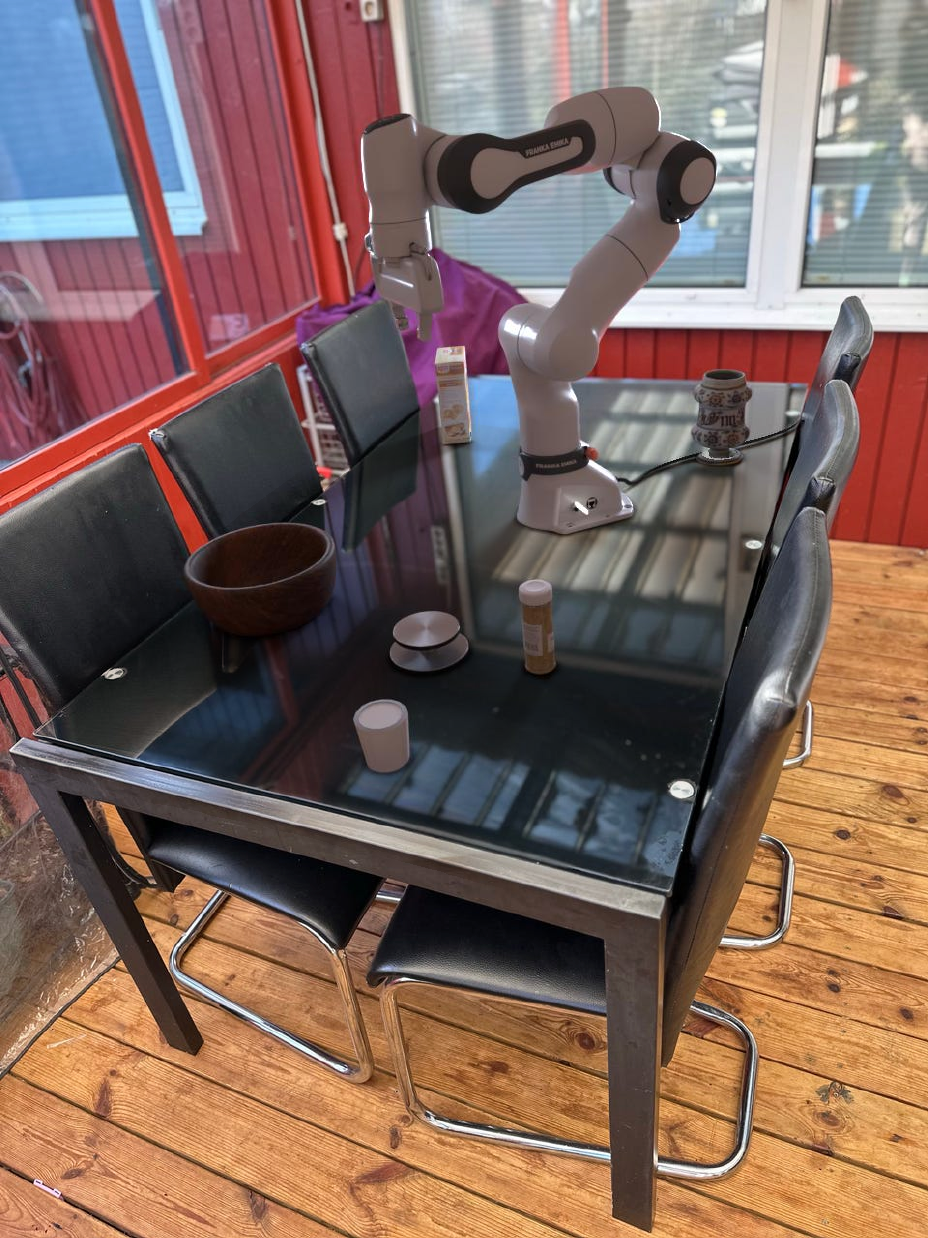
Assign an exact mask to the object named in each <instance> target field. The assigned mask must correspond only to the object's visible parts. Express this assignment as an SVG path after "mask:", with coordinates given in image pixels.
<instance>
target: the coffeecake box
mask: <svg viewBox="0 0 928 1238" xmlns="http://www.w3.org/2000/svg"><path fill="white" fill-rule="evenodd" d="M435 353H436V354H435V358H434V369H435V379H436V390H437V398H438V408H439V418H440V426H441V427H440V429H441V436H442V445H448V444H462V443H463V444H464V443H472V442H471V441H472V436H471V437H470V432H471V433H472V419H471V405H470V395H469V384H468V372H467V371H468V370H467V360H466V347H465V345H457V346H447V347H437V349H436V352H435ZM468 437H470V439H463V438H468ZM458 439H460V440H458Z"/></svg>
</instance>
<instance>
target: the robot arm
mask: <svg viewBox="0 0 928 1238" xmlns="http://www.w3.org/2000/svg"><path fill="white" fill-rule="evenodd" d="M661 119H662V118H661V110H660V106H659V103H658V101H657V99H656V97H655V96H654V94H653V93H651V92H650V91H649V90H648V89H646V88H645V87H641V86H615V87H614V86H613V87H606V88H600V89H596V90H595V89H594V90H591V91H587V92H583V93H580V94H578V95H574V96H572V97H569V98H567V99H565V100H563V101H561V102H559V103H558V104H555V105H554V106H552V107H551V109H550V110H549V111H548V113H547V115H546V118H545V119H544V124H543V128H542V129H538V130H536V131H532V132H528V133H525V134H522V135H518V136H515V137H512V138H504V137H500V136H497V135H494V134H491V133H485V132H476V133H470V134H448V133H446V132H443V131H439V130H437V129H435V128H432V127H430V126H428V125H426V124H424V123H422V122H421V121H419V120H417V119H416V118H415V117H414V116H413V115H412V114H410V113H407V112H405V113H404V112H403V113H396V114H393V115H388V116H384V117H381V118H379V119H376V120H375V121H372V122H371V123H369V124H368V125H367V126H366V127H365V129H363V132H362V134H361V141H360V157H361V158H360V159H361V171H362V178H363V185H364V186H363V187H364V192H365V194H366V197H367V199H368V203H369V216H368V221H369V222H368V223H369V232H368V233H367V234H366V235H365V236H364V246H365V250H366V251H367V252H369V259H370V266H371V271H372V276H373V282H374V286H375V289H376V291H377V294H378V296H379V297H380V298H382V299H384V300H387V301H388V302H389V308H390V310H391V313H392V316H393V318H394V323H395V325H394V326H395V328H396V329H397V331H402V332H403V331H407V330H409V328H410V324H409V317H407V314H406V313H407V312H406V309H407V310H409V311H412V312H415V315H416V319H417V328H416V335H417V336H416V338H417V339H418V340H419V341H421V342H428V341H429V342H430V341H431V340H432V338H433V337H432V329H431V328H432V324H433V318H434V314H438V313H441V312H443V310H444V305H445V301H444V293H443V285H442V280H441V274H440V270H439V266H438V263H437V261H436V260H435V258H434V257H432V256H431V255H430V254H429V252H431V251H432V250H433V242H432V232H431V224H430V223H431V222H430V215H429V211H430V208H431V207H433V206H435V207H439V208H446V209H452V210H459V211H462V212H466V213H468V214H472V215H484V214H487V213H490V212H492V211H494V210H496V209H497V208H498V207H500V206H501V205H502V204H504V202H506V201H507V199H508V198H510V197H511V196H512V195H513V194H514V193H516V192H517V191H518V190H520V189H522V188H524V187H526V186H528V185H531V184H533V183H534V184H535V183H537V182H540V181H543V180H545V179H549V178H552V177H554V176H557V175H561V176H580V175H586V174H590V173H591V174H592V173H595V172H599V171H602V174H603V177H604V179H605V181H606V183H607V184H608V185H609V186H610V188H612V189H613V190H614V191H615V192H616V193H619V194H620V195H623V196H627V197H628V198H630V201H629V204H628V206H627V208H626V211H625V212H624V214H623V216H622V217H621V219H619V220H618V221H617V222H616V223H615V224H614V225H613V226H611V228H609V230H608V231H606V233H605V234H604V235H602V237H601V238H599V240H598V241H597V242H595V244H594V245H593V246H592V247H591V248H589V250H588V251H587V252H586V253H585V254H584V255H583V256H582V257H581V259H580V260H579V261H578V262H576V264H575V265H573V267H572V268H571V271H570V273H569V281H568V283H567V285H566V287H565V289H564V291H563V293H562V294H561V295H560V297H559V298H558V300H557V301H556V303H555V304H553V305H552V306H551V307H549V306H546V305H544V304H541V303H537V302H527V303H521V304H516V305H514V306H512V307H510V308H509V309H508V310H507V311H506V312H505V313H504V314H503V316H502V317H501V319H500V321H499V324H498V328H497V338H498V340H499V344H500V346H501V348H502V350H503V353H504V355H505V358H506V362H507V367H508V372H509V375H510V379H511V383H512V388H513V391H514V395H515V399H516V404H517V410H518V424H519V438H520V446H519V447H518V468H519V474H520V475H519V476H520V477H521V487H520V488H521V489H520V497H519V498H520V499H519V506H518V509H517V513H516V518H517V520H518V522H519V523H521V524H522V525H524V526H526V527H528V528H532V529H535V530H541V531H542V530H543V531H551V532H555V533H557V534H561V535H568V534H572V533H573V534H574V533H576V532H581V531H584V530H587V529H591V528H595V527H599V526H603V525H606V524H611V523H614V522H619V521H621V520H625V519H629V518H631V517H633V515H634V512H635V510H634V504H633V502H632V500H631V499H630V498H629V497H628V496H627V495H626V494H625V493H623V492H622V491H621V488H620V484H619V483H624V484H626V485H628V486H634V485H637V484H638V483H640V482H641V481H642V480H644V478H645V477H647V476H648V475H649V474H651V473H653V472H655V471H657V470H659V469H662V468H665V467H666V466H670V465H673V464H676V463H679V462H683V461H685V460H689V459H692V458H695V457H696V456H697V455H698V454H700V453H702V452H700V453H696V454H692V455H689V456H685V457H682V458H679V459H676V460H673V461H670V462H667V463H664V464H662V465H659V466H657V467H655V468H653V469H650V470H648V469H647V470H648V471H646V470H645V471H643V472H642V473H641V474H640V475H639V476H638V477H637V478H634V479H633V480H630V479H628V478H627V477H622V476H619V477H618V476H617V475H614V474H613V473H612V472H611V471H610V470H609V469H606V468H605V467H603V466H602V465H600V464H598V463H596V462H595V461H596V460H597V459H598V458H599V456H600V455H599V451H598V450H596V449H595V447H592V446H590V445H589V443H587V442H585V441H583V440H582V439H581V433H580V431H581V430H580V404H579V400H578V397H577V396H576V394H575V391H574V389H573V386H572V384H571V383H574V382H577V381H580V380H583V379H584V378H586V377H587V376H588V375H589V374H590V373H591V372H592V371H593V369H594V368H595V366H596V364H597V361H598V358H599V353H600V343H601V341H602V339H603V337H604V335H605V334H606V332H607V330H608V328H609V326H610V325H611V324H612V322H613V321H614V319H615V317H616V316H617V315H618V314H619V313H620V312H621V311H622V309H624V308H625V306H626V305H627V304H628V303H629V302H630V301H631V300H632V299H633V298H634V297H635V296H636V295H637V294H638V292H640V290H641V289H642V288H643V287H644V286H645V285H646V284H647V283H648V282H649V281H651V279H652V278H653V277H654V276H655V274H656V273H657V272H659V270H660V268H661V267H662V266H663V264H664V263H665V262H666V261H667V259H668V258H669V257H670V255H671V254H672V253H673V251H674V249H675V248H676V246H677V245H678V243H679V241H680V238H681V233H682V232H681V231H682V229H681V228H682V227H681V224H683V223H685V222H687V221H689V220H690V219H691V218H692V217H694V215H695V214H696V212H697V211H698V210H700V208H702V207H703V205H704V204H705V202H706V201H707V200H708V198H709V196H710V195H711V193H712V192H713V190H714V187H715V184H716V180H717V176H718V162H717V158H716V156H715V155H714V153H713V152H712V151H711V150H710V149H709V148H708V146H706V145H705V144H703V143H702V142H700V141H698V140H695V139H689V138H687V137H685V136H683V135H680V134H678V133H675V132H672V131H667V130H660V129H661V124H662V123H661V122H662V120H661ZM799 421H801V419H800V420H799ZM799 421H798V422H797V423H796V424H794V425H792V426H791V427H789V428H787V429H784V430H782V431H779V432H777V433H774V434H771V435H768V436H765V437H761V438H758V439H754V440H750V441H746V442H744V443H742V444H741V445H738V446H736V447H732V448H733V449H736V448H738V447H742V446H746V445H751V444H754V443H758V442H761V441H764V440H767V439H770V438H773V437H776V436H779V435H782V434H784V433H786V432H789V431H790V430H793V428H795V427H796V426H797V424H798V423H799Z"/></svg>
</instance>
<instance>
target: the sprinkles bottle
mask: <svg viewBox="0 0 928 1238" xmlns="http://www.w3.org/2000/svg"><path fill="white" fill-rule="evenodd" d="M552 588H553V586H552V585H551V583H550V582H549V581H546V580H543V579H531V580H526V581H524V582H522V583H521V584H520V586H519V588H518V596H519V597H518V598H519V601H520V607H521V610H520V611H521V628H522V643H523V650H524V668H525V670H526V671H527V672H529V673H531V674H535V675H544V674H549V673H551V672H552V671H553V670H555V668H556V664H557V663H556V658H555V641H554V640H555V638H554V637H555V636H554V623H553V614H552V613H553V611H552V599H553V589H552Z"/></svg>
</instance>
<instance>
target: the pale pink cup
mask: <svg viewBox="0 0 928 1238" xmlns="http://www.w3.org/2000/svg"><path fill="white" fill-rule="evenodd" d="M352 720H353V723H354V726H355V730H356V733H357V736H358V739H359V743H360V746H361V749H362V752H363V755H364V758H365V762H366V765H367V767H368V768H369V769H370V770H372V771H374V772H377V773H392V772H395V771H398V770H400V769H402V768H403V767H405V765H406V764H407V763H408V762H409V759H410V739H409V738H410V736H409V735H410V734H409V732H410V731H409V713H408V710H407V707H406V706H405V704H403V703H401V702H400V701H397V700H393V699H377V700H374V701H370V702H368V703H366V704H363V705H362V706H360V708H359V709H358V710H356V711H355V713H354V716H353V718H352Z"/></svg>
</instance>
